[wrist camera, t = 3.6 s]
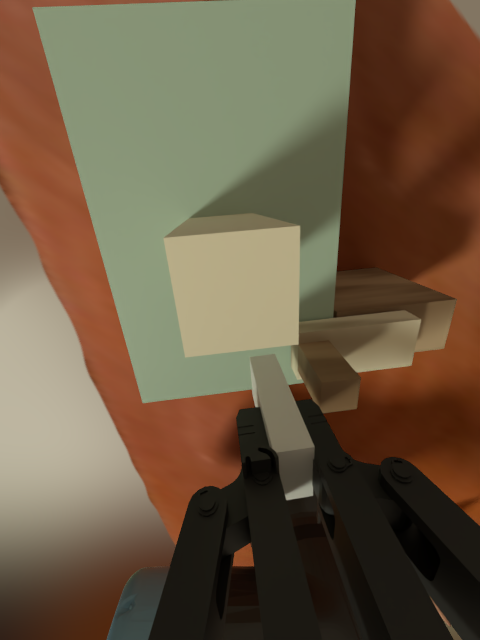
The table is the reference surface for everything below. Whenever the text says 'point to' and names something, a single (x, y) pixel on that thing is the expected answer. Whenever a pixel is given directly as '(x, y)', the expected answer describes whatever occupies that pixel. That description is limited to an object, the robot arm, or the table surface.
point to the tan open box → (395, 302)
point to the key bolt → (350, 353)
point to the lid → (208, 173)
